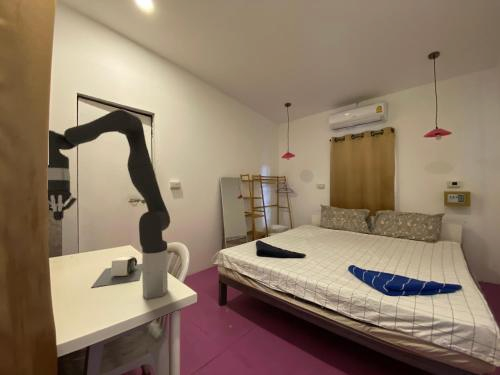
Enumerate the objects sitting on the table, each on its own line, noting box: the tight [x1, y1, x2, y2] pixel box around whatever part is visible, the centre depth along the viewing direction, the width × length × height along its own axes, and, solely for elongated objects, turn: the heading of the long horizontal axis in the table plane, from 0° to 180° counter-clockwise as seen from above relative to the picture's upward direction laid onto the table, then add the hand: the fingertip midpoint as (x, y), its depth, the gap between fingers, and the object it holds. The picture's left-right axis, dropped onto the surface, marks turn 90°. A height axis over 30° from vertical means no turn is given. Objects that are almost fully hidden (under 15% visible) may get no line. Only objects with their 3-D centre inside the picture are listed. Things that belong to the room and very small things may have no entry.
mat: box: [90, 263, 142, 289], centre depth 102 cm, size 22×18×1 cm
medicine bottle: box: [110, 256, 138, 276], centre depth 104 cm, size 7×7×12 cm
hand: (58, 220), depth 88 cm, fingers closed
